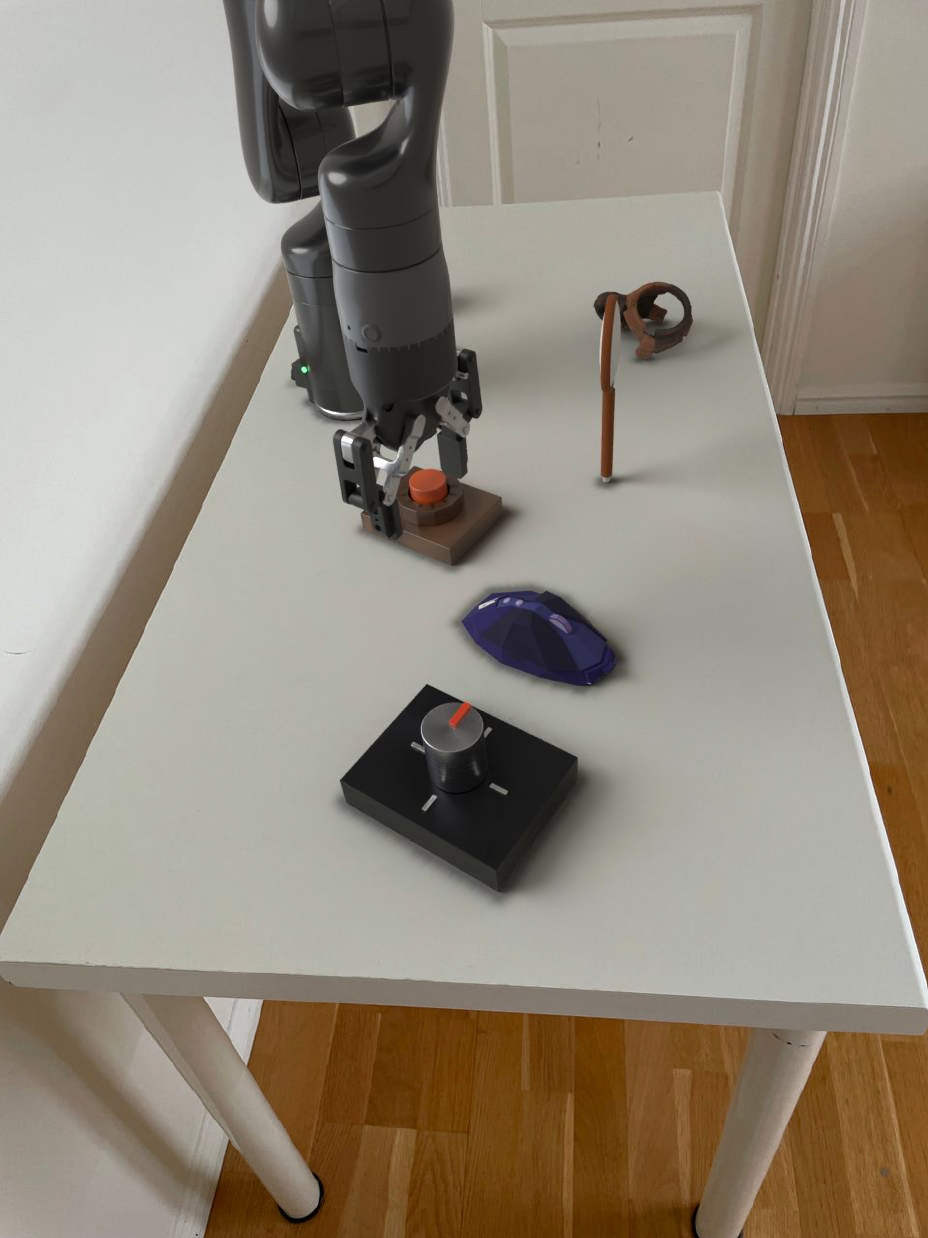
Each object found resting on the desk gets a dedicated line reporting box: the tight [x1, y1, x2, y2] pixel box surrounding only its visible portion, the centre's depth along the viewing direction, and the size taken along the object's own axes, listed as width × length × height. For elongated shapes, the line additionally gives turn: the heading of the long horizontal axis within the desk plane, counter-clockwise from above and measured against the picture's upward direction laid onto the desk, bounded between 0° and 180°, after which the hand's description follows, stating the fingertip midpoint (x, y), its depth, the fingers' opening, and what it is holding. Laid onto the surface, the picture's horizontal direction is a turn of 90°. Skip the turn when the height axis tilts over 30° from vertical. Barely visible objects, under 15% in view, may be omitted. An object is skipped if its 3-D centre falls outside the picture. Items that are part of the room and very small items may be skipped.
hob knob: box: [421, 701, 488, 793], centre depth 68 cm, size 4×4×5 cm
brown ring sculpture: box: [593, 281, 694, 361], centre depth 114 cm, size 12×10×8 cm
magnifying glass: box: [599, 294, 622, 483], centre depth 90 cm, size 9×2×20 cm, turn 168°
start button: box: [409, 468, 448, 504], centre depth 92 cm, size 4×4×2 cm
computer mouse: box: [460, 590, 617, 686], centre depth 81 cm, size 9×15×4 cm, turn 50°
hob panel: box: [339, 683, 579, 893], centre depth 71 cm, size 14×11×3 cm
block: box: [360, 465, 504, 567], centre depth 93 cm, size 11×9×4 cm
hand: (423, 503), depth 74 cm, fingers open, 8 cm apart
